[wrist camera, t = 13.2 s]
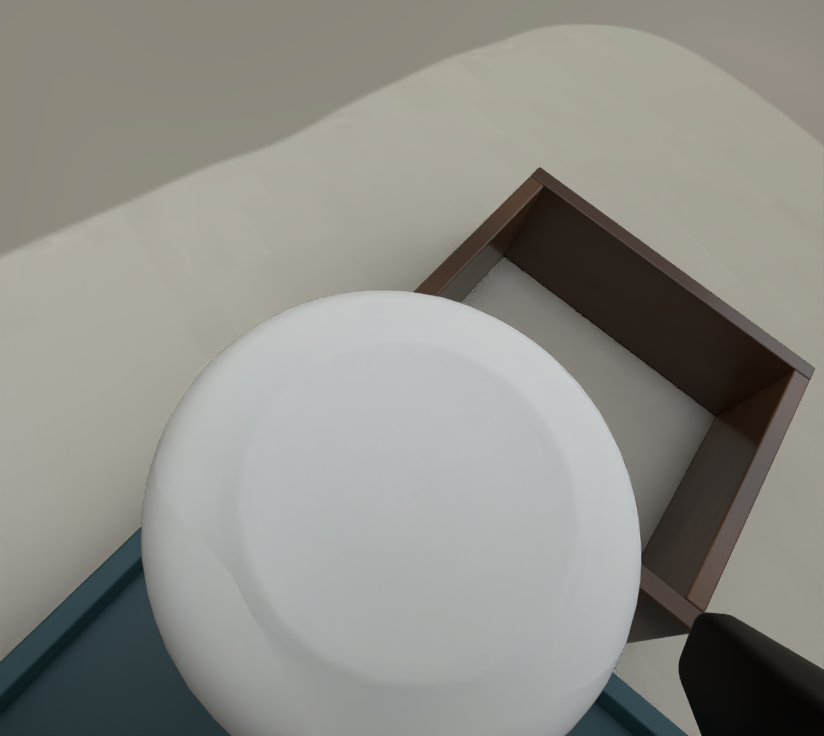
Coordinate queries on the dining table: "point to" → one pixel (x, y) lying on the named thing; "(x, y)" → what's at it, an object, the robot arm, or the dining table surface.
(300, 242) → the dining table surface
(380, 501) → the sprinkles bottle
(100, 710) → the tray
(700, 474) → the wooden box
